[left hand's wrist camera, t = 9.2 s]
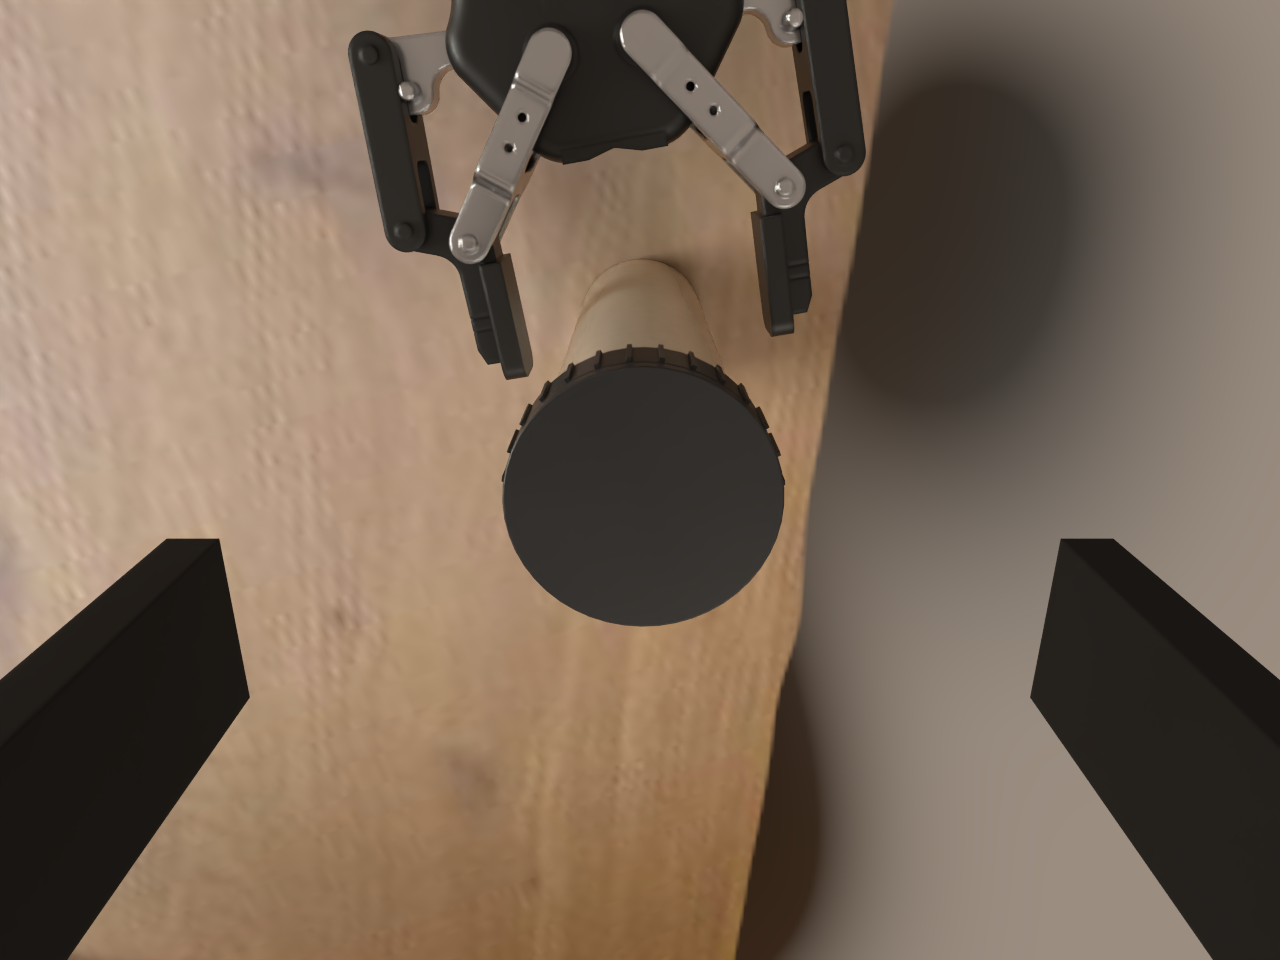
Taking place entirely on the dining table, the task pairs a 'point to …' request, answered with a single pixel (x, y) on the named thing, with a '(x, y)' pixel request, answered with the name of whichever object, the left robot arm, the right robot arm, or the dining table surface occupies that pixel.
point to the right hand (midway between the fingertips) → (649, 352)
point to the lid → (643, 487)
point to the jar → (641, 314)
